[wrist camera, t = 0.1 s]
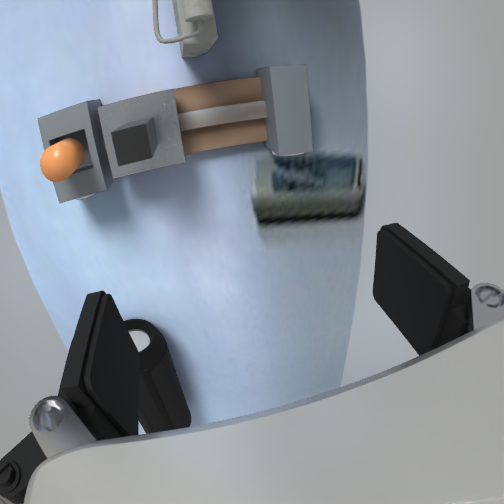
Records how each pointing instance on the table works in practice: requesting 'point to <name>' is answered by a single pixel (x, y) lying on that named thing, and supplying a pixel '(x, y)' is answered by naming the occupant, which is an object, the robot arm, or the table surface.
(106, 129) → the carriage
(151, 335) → the portable speaker
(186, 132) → the rail base
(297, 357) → the table surface
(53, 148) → the button
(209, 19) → the geiger counter
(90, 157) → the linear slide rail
